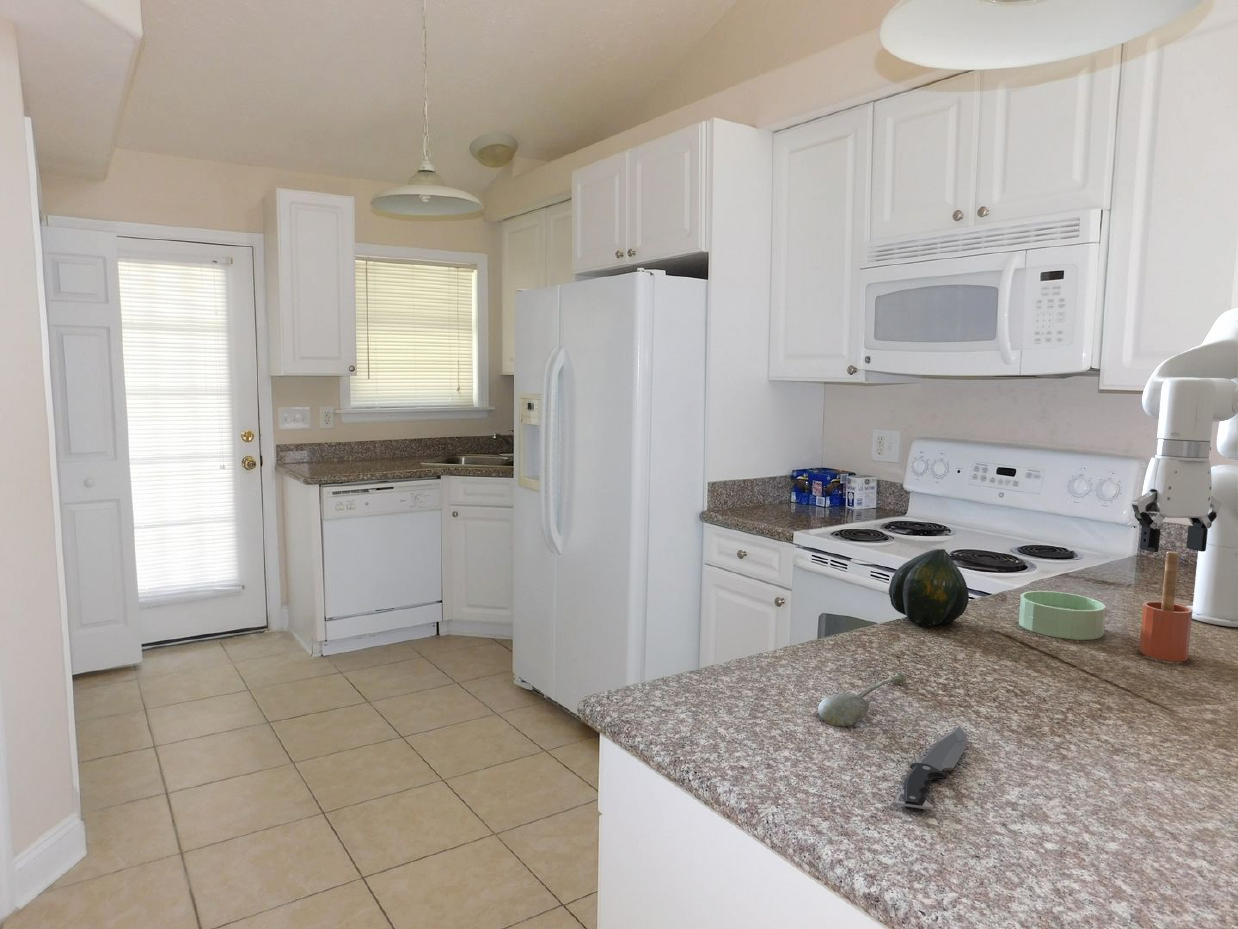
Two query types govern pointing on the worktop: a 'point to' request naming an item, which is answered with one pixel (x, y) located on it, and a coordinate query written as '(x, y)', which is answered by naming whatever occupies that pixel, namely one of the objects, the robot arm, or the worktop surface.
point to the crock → (1165, 632)
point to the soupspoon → (850, 704)
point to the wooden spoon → (1170, 581)
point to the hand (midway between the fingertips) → (1172, 550)
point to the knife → (931, 769)
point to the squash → (929, 589)
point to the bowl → (1062, 615)
